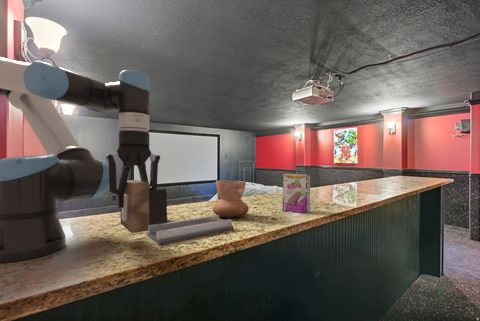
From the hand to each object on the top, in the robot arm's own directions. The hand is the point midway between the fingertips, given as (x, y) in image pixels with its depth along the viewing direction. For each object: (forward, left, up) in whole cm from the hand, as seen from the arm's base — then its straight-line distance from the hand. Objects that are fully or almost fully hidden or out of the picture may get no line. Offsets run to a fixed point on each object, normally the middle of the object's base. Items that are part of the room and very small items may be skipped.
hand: (133, 218), depth 66 cm
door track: (+17, 0, -7) cm, 18 cm away
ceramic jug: (+40, +12, -7) cm, 42 cm away
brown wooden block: (0, 0, -2) cm, 2 cm away
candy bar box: (+68, +1, -7) cm, 68 cm away
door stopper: (+13, +19, -7) cm, 24 cm away
